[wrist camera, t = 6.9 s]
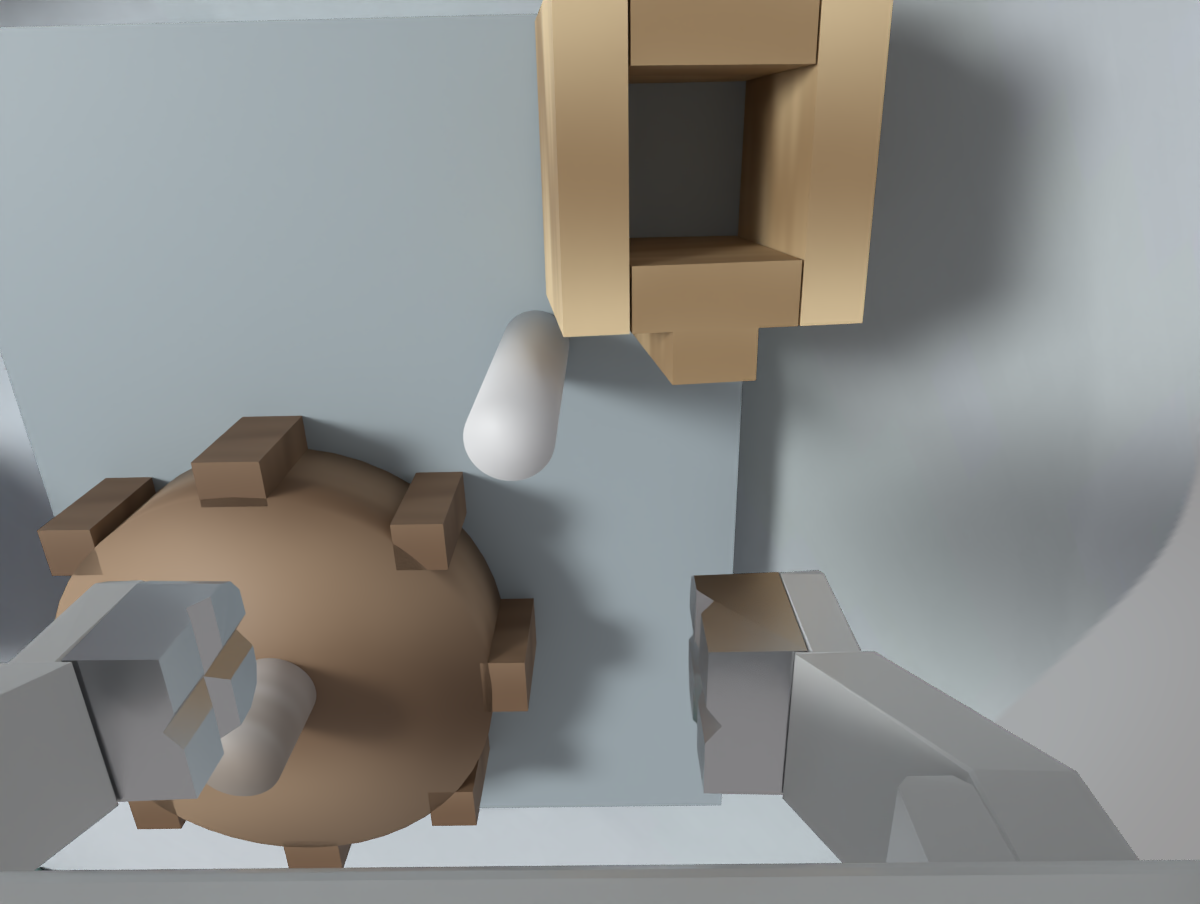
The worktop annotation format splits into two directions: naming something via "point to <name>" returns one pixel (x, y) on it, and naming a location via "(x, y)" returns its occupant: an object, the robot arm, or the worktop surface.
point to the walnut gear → (322, 634)
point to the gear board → (383, 326)
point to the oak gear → (768, 173)
